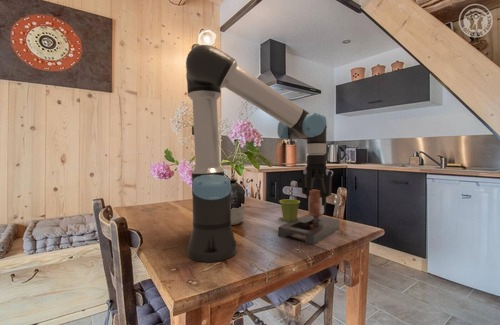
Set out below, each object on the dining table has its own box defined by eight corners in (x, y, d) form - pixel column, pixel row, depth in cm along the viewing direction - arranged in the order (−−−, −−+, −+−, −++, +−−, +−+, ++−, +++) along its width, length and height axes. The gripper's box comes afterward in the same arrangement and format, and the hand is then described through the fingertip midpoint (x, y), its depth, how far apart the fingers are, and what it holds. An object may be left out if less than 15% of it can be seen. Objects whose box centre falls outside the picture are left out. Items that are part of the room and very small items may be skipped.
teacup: (240, 227, 101) (240, 208, 100) (215, 225, 103) (215, 207, 102) (247, 218, 114) (247, 201, 114) (225, 217, 116) (225, 200, 116)
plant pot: (278, 222, 108) (278, 202, 108) (280, 216, 117) (280, 198, 117) (299, 223, 106) (299, 203, 106) (300, 217, 115) (300, 199, 115)
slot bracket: (278, 236, 90) (278, 226, 90) (307, 221, 108) (307, 214, 108) (313, 244, 81) (313, 234, 81) (339, 227, 99) (339, 219, 99)
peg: (306, 227, 98) (306, 190, 97) (312, 224, 102) (312, 189, 102) (319, 230, 94) (320, 192, 94) (325, 227, 99) (325, 190, 98)
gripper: (341, 154, 95) (340, 213, 96) (301, 154, 106) (301, 207, 106) (334, 154, 89) (333, 217, 90) (292, 154, 100) (292, 211, 101)
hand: (316, 212), depth 98 cm, fingers closed on peg, 4 cm apart
